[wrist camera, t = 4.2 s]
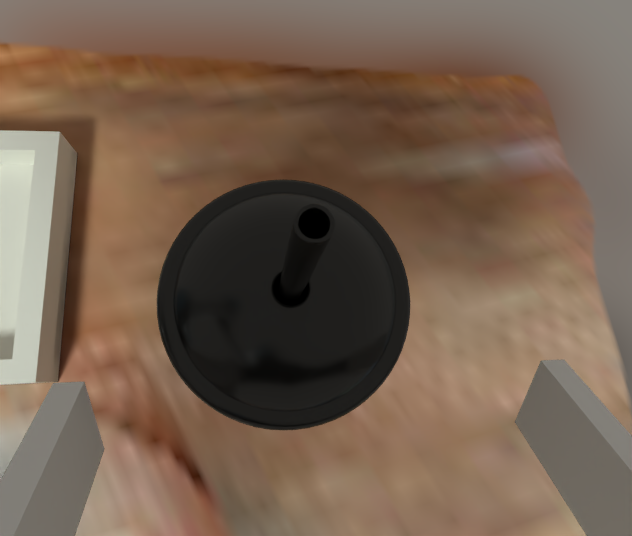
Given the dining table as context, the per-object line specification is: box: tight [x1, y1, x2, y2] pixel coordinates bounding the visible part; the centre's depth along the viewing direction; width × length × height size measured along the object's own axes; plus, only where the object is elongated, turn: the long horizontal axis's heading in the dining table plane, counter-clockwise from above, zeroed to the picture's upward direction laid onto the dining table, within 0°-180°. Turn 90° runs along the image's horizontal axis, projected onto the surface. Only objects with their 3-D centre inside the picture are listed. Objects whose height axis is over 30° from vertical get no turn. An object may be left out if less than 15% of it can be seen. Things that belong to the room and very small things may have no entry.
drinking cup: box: [157, 180, 410, 430], centre depth 16 cm, size 8×8×20 cm
